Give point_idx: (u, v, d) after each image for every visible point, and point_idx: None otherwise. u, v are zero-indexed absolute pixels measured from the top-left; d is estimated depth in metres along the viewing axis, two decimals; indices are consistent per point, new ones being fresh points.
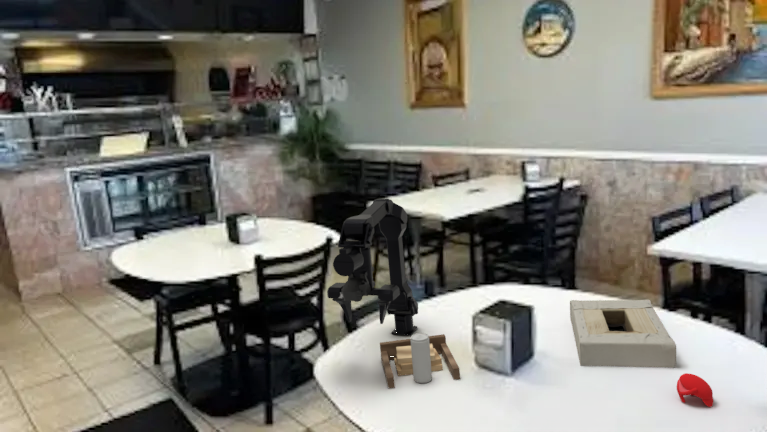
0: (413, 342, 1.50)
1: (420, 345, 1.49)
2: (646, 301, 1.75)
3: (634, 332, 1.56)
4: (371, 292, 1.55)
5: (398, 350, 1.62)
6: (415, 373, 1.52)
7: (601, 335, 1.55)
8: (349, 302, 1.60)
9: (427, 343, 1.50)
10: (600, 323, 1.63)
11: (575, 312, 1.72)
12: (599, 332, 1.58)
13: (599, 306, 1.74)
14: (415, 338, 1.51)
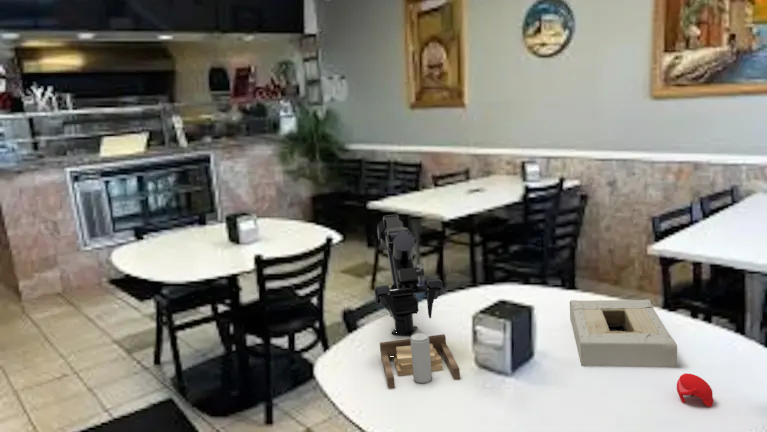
0: (413, 342, 1.50)
1: (420, 345, 1.49)
2: (646, 301, 1.75)
3: (635, 332, 1.56)
4: (417, 289, 1.64)
5: (398, 350, 1.62)
6: (415, 373, 1.52)
7: (602, 335, 1.55)
8: None
9: (427, 343, 1.50)
10: (601, 323, 1.63)
11: (575, 312, 1.72)
12: (600, 332, 1.58)
13: (599, 306, 1.74)
14: (415, 338, 1.51)
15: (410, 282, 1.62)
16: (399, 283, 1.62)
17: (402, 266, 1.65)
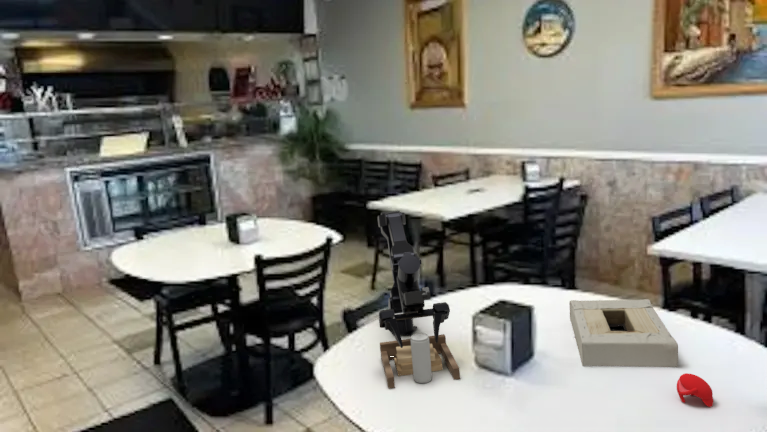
0: (413, 342, 1.50)
1: (420, 345, 1.49)
2: (645, 301, 1.75)
3: (635, 332, 1.56)
4: (423, 312, 1.58)
5: (398, 350, 1.62)
6: (415, 373, 1.52)
7: (603, 335, 1.55)
8: None
9: (427, 343, 1.50)
10: (601, 323, 1.63)
11: (575, 312, 1.72)
12: (601, 332, 1.58)
13: (599, 306, 1.74)
14: (415, 338, 1.51)
15: (416, 305, 1.57)
16: (404, 306, 1.56)
17: (407, 289, 1.60)
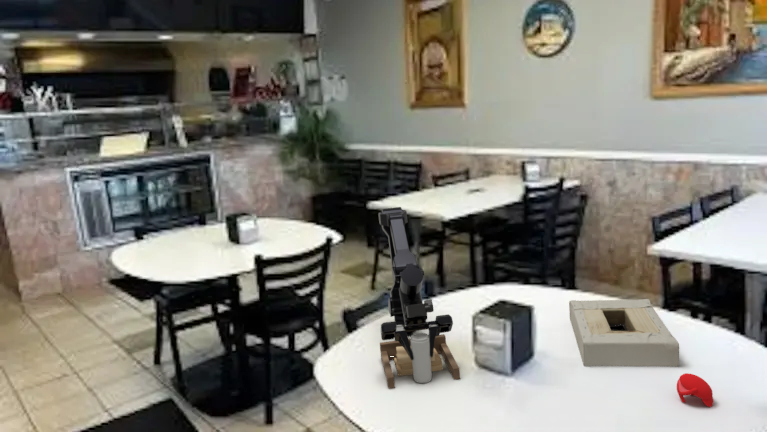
0: (413, 342, 1.50)
1: (420, 345, 1.49)
2: (645, 300, 1.75)
3: (636, 332, 1.56)
4: (426, 325, 1.56)
5: (398, 350, 1.62)
6: (415, 373, 1.52)
7: (604, 335, 1.55)
8: None
9: (427, 343, 1.50)
10: (602, 323, 1.63)
11: (576, 312, 1.72)
12: (602, 332, 1.58)
13: (599, 306, 1.74)
14: (415, 338, 1.51)
15: (418, 318, 1.54)
16: (407, 319, 1.54)
17: (410, 300, 1.57)
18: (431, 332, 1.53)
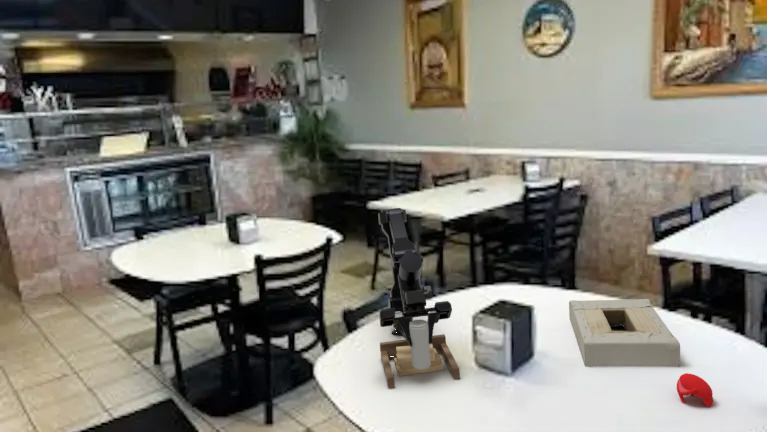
0: (412, 328, 1.49)
1: (419, 331, 1.49)
2: (645, 300, 1.75)
3: (637, 331, 1.56)
4: (425, 311, 1.55)
5: (398, 350, 1.62)
6: (414, 360, 1.51)
7: (604, 335, 1.55)
8: None
9: (426, 329, 1.50)
10: (602, 323, 1.63)
11: (576, 312, 1.72)
12: (602, 332, 1.58)
13: (599, 306, 1.74)
14: (414, 324, 1.50)
15: (417, 304, 1.54)
16: (406, 305, 1.53)
17: (408, 287, 1.56)
18: (430, 319, 1.52)
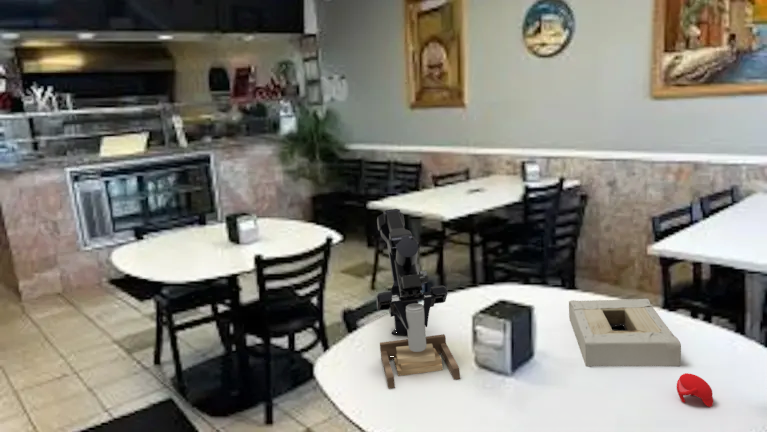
0: (408, 312, 1.54)
1: (415, 314, 1.53)
2: (645, 300, 1.75)
3: (637, 331, 1.56)
4: (421, 295, 1.59)
5: (398, 350, 1.62)
6: (410, 342, 1.56)
7: (605, 335, 1.55)
8: None
9: (422, 313, 1.54)
10: (603, 323, 1.63)
11: (576, 312, 1.72)
12: (603, 332, 1.58)
13: (599, 306, 1.74)
14: (410, 308, 1.55)
15: (413, 289, 1.58)
16: (402, 290, 1.57)
17: (405, 272, 1.60)
18: (426, 302, 1.57)
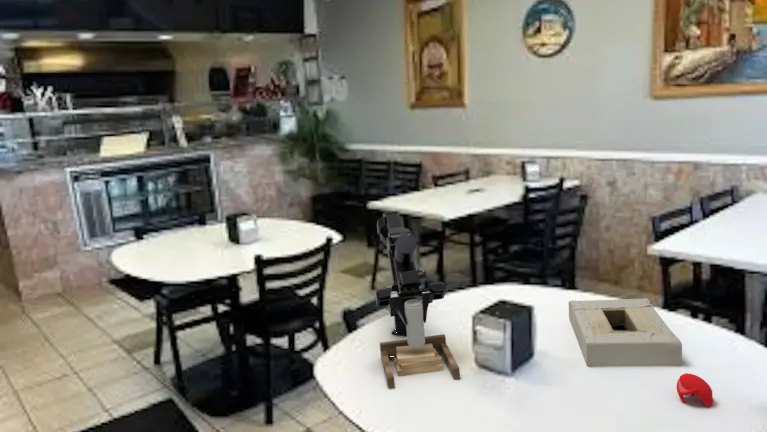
0: (407, 307, 1.56)
1: (414, 310, 1.55)
2: (644, 300, 1.76)
3: (638, 331, 1.56)
4: (419, 292, 1.61)
5: (398, 350, 1.62)
6: (409, 338, 1.58)
7: (606, 335, 1.55)
8: None
9: (420, 308, 1.56)
10: (603, 323, 1.63)
11: (576, 312, 1.72)
12: (604, 332, 1.57)
13: (599, 306, 1.74)
14: (409, 303, 1.57)
15: (412, 285, 1.60)
16: (401, 286, 1.59)
17: (404, 269, 1.63)
18: (424, 298, 1.59)
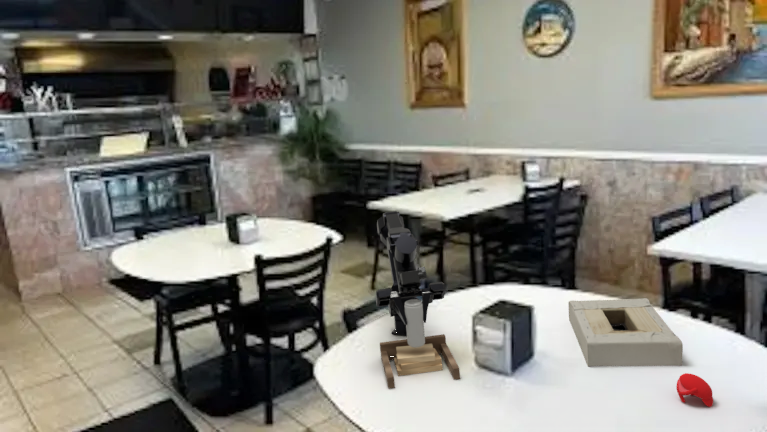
0: (407, 307, 1.56)
1: (414, 310, 1.55)
2: (644, 300, 1.76)
3: (639, 331, 1.56)
4: (419, 292, 1.61)
5: (398, 350, 1.62)
6: (409, 338, 1.58)
7: (607, 335, 1.55)
8: None
9: (420, 308, 1.56)
10: (604, 323, 1.63)
11: (576, 312, 1.72)
12: (604, 332, 1.57)
13: (599, 306, 1.74)
14: (409, 303, 1.57)
15: (412, 285, 1.60)
16: (401, 286, 1.59)
17: (404, 269, 1.63)
18: (424, 298, 1.59)
